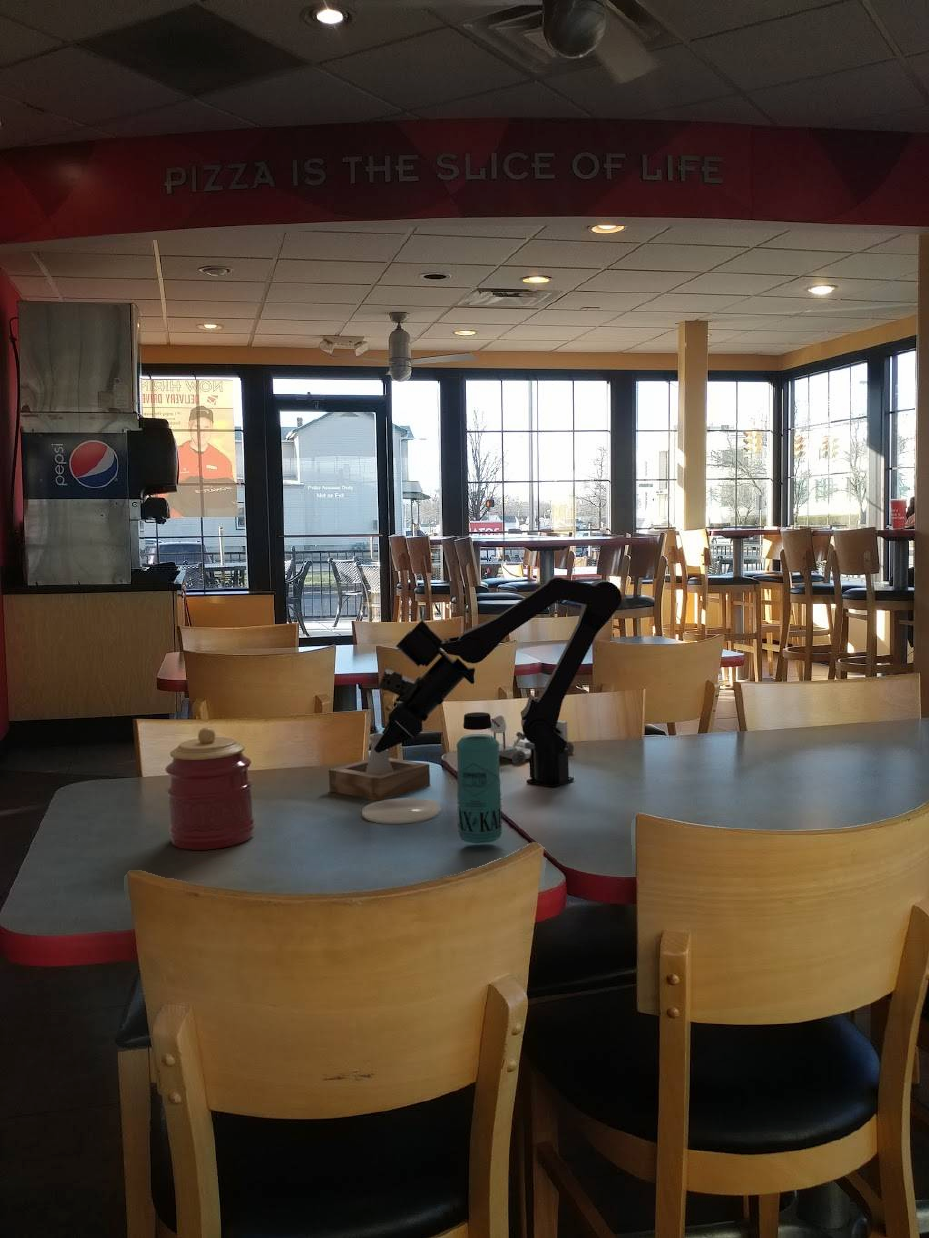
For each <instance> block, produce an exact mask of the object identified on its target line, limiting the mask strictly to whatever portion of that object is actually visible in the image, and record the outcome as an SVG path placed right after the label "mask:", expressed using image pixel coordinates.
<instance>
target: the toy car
mask: <svg viewBox="0 0 929 1238" xmlns="http://www.w3.org/2000/svg"><path fill="white" fill-rule="evenodd" d="M491 724H492V727H491V728H489V729H487V731H489V732H490V733H493V737H494V738H495V739H496V740H497V736H496V734H502V741H503V742H502V744H501V743H499V757H504V758H506V759H511V761H512V764H513V765H517V766H518V765H520V764H521V765H522V764H525V762H526V761H527V759H529V756H530V755H531V748H534V747H535V745H534V744H533V743H531V742H529V741H528V740H527V739H526V738H525V736H524V734H523V732H521V731H517V732H516V734H515V736H516V737H517V738H515V739H513V743H509V744H506V730H507V729H506V728H507V725H506V724H507V723H506V720H505V717H504V716H503V715H497V716H495V717H494V718H491ZM556 727H557V728H558V729H559V730H560V731H561V732H562V733H563V735H564V738H565V740H566V742H567V744H566V747H565V749H568V755H573V753H574V750H575V746H574V744H573V743H572V742H570V741H568V721H563V720H559V719H558V722H557V725H556Z"/></svg>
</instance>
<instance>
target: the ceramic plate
mask: <svg viewBox="0 0 929 1238" xmlns="http://www.w3.org/2000/svg"><path fill="white" fill-rule="evenodd" d="M361 812H362V818H364V820H365V821H368V822H371V823H377V824H383V825H385V824H386V825H403V824H413V823H418V822H425V821H427V820H428V821H429V820H430V819H433V818H436V817H437V816H438V815H440V813H441V805H440V803H439V802H436V801H435V800H430V799H426V798H418V797H415V798H414V797H401V798H389V799H385V800H382V801H375V802H372V803H369V804H367V805H365V806H364V807H363V808H362V810H361Z"/></svg>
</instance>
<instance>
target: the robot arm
mask: <svg viewBox="0 0 929 1238" xmlns="http://www.w3.org/2000/svg"><path fill="white" fill-rule="evenodd" d="M622 598H623V597H622V593H621V590H620V589H619V587H618V586H617V585H616V584H614V583H613V582H611V581H607V580H604V579H600V580H599V579H598V580H596V581H593V582H591V583H590V582H589V583H588V582H584V581H577V580H572V579H571V580H570V579H566V578H562V577H561V576H553V577H550V578H549V579H548V580H547V581H546V582H545V583H544V584H543V585H541V586H540V587H538V588H537V589H536V590H533V592H531V593H529V594H528V595H526V596H525V597H524V598H522V599H521V600H519V601H518V602H517V603H515V604H513V605H512V606H510V607H509V608H508V609H506V610H504V611H503V612H502V613H500V614H499V615H497V616H496V617H493V618H491V619H489V620H486V621H484V622H482V623H479V624H477V625H475V626H473V627H470V628H468V629H466V630H464V631H463V632H462V633H461V634H460V635H459V636H453V637H447V638H443V639H442V638H441V637H440V636H439V635H438V634H436V632H434V631H433V630H432V628H430V627H429V624H427V622H425V621H424V620H420V621H419V622H418V623H417V624H416V625H415V627H413V628H412V629H411V630H409V631H408V632H407V633H406V634H405V635H404V637H403V638H402V639H401V640H400V641H398V643H397V644H396V645H395V647H396V648H397V649H398V650H399V651H400V652H401V653H402V654H403V655H404V656H406V658H407V659H409V660H410V662H411V663H413V664H414V665H415V666H416V667H418V668H419V667H420V666H423V667H425V668H427V667H428V666H429V665H431V663H432V662H434V660H435V659H436V658H437V657H438V656H439V655H440V657H439V658H438V659H437V660H436V661H435V662H434V663H433V665H431V666H430V668H429V669H427V671H426V672H425V673H424V674H423V675H421V676H420V675H419V676H418V677H417V678H416V679H415V680H413V679H412V678H409V677H408V676H405V675H403V673H399V672H397V671H396V670H391V669H388V668H386V669H385V670H384V672H383V674H382V677H381V679H380V681H379V683H378V688H379V689H381V690H383V691H388V692H391V693H392V694H394V695H396V696H397V695H398V696H397V697H396V698H395V700H394V701H393V708H392V709H391V710H390V712H389V713H388V716H387V717H388V722H387V724H386V726H384V729H383V730H382V732H381V734H383V735H382V737H381V739H380V740H379V742H378V743H377V745H376V746H375V748H374V750H375V751H376V752H377V753H380V752H382V751H384V750H386V751H387V750H389V749H391V748H393V747H395V746H397V745H398V746H399V745H400V744H403V743H405V742H408V741H410V740H413V739H414V738H415V739H416V738H417V737H418V736H419V735H420V734H421V732H423V730H424V722H426V721H427V719H428V718H429V716H430V714H431V713H432V712H433V711H435V709H436V708H437V707H438V706H441V704H443V702H444V701H445V699H446V698H447V697H448V695H450V693H452V691H453V690H454V689H455V688H456V687H457V686H458V685H459V684H460V683H461V682H462V680H464V679H465V680H467V682H468V683H470V684H471V685H474V683H475V671H476V668H475V667H468V666H467V665H466V664H465V663H467V664H468V663H469V664H473V665H474V664H478V663H480V662H482V661H484V659H486V658H487V657H489V656H488V655H490V654H491V653H492V652H493V651H494V650H495V649H496V648H497V646H499V644H501V642H503V640H504V639H505V638H506V637H508V636H509V634H511V633H513V632H514V631H516V630H517V629H519V627H521V626H523V625H524V624H525V623H528V621H530V620H531V619H533V618H535V617H536V616H537V615H539V614H540V613H542V612H543V611H545V610H546V609H547V608H550V607H551V606H552V605H553V604H555V603H556V602H558V601H560V600H563V601H567V602H572V603H577V604H581V608H580V613H579V617H578V621H577V623H576V625H575V628H574V629H573V631H572V634H571V636H570V637H569V638H568V641H567V644H566V645H565V646H564V649H563V652H562V653H561V655H560V657H559V659H558V661H557V663H556V665H555V667H554V669H553V671H552V673H551V674H550V677H549V679H548V680H547V681H546V682H547V683H546V685H545V687H544V689H543V690H542V691H541V692H540V694H538V696H537V697H535V696H534V695H533V694H529V697H528V698H527V702H526V705H525V707H524V708H523V709H522V710H521V711H520V718H521V721H520V724H521V729H522V734H524V736H525V738H526V739H527V740H528V741H529V742H531V743H533V744H534V745H535V747H534V748H531V755H530V756H529V758H528V759H529V760H528V761H529V762H528V763H529V764H528V765H529V777H530V778H528V779H526V782H525V783H526V784H533V785H537V786H544V787H549V788H556V787H559V786H562V785H564V784H567V783H570V782H573V781H574V780H575V777H574V776H573V777H572V776H570V774H569V773H570V771H569V769H570V768H569V754H568V749H565V747H566V744H567V742H566V740H565V738H564V735H563V733H562V732H561V731H560V730H559V729H558V728H557V727H556V725H557V722H558V720H559V717H560V715H561V714H560V713H561V708H562V705H563V701H564V699H565V697H566V695H567V693H568V691H569V689H570V688H571V685H572V683H573V681H574V680H575V678H576V675H577V674H578V672H579V669H580V667H581V666H582V664H583V662H584V659H585V657H586V656H587V654H588V652H589V650H590V648H591V646H592V644H593V642H594V640H595V638H596V637H597V634H598V633H599V631H601V630H602V628H603V627H604V626H605V625H606V624H607V623H608V621H609V620H610V619H611V618H612V616H613V615H614V614H615V612H616V611H617V610H618V608H619V607H620V606H621V602H622ZM449 655H451V656H457V657H456V658H455V659H452V658H451V657H449ZM458 657H459V658H460V659H459V658H458ZM461 660H462V661H464V662H465V663H464V662H462V661H461Z"/></svg>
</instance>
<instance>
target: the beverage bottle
mask: <svg viewBox="0 0 929 1238" xmlns="http://www.w3.org/2000/svg"><path fill="white" fill-rule="evenodd" d="M491 719H492V718H491V714H490V713H489V712H482V711H481V712H480V711H478V712H477V711H476V712H474V711H473V712H469V713H468V712H467V713H465V714H464V716H463V724H462V727H463V729H464V730H470V731H480V730H488V729H489V728H491V727H492V724H491V721H492V720H491ZM499 744H500V743H499V741H498V740H497V738H496V739H495V738H494V736H493V735H491V734H489V733H471V734H466V735H463V736H462V737H461V738H460V739H459V740H458V742H457V743H456V749H457V751H456V754H457V775H456V782H457V789H456V790H457V791H456V794H457V795H456V796H457V797H456V799H457V800H456V801H457V802H456V803H457V805H458V806H457V807H456V808H457V811H458V826H457V829H458V833H457V834H458V835H459V837H460V838H459V839H460V840H461V841H462V842H466V843H471V844H483V843H484V844H485V843H492V842H494V841H497V840H499V839H500V838H501V835H502V833H503V832H502V831H503V828H502V827H503V823H502V822H503V821H502V818H503V816H502V815H503V814H502V813H503V812H502V807H503V806H502V804H501V803H502V798H501V795H502V792H501V791H502V789H501V785H502V783H501V779H500V778H501V777H500V775H501V773H500V772H501V771H500V756H499Z"/></svg>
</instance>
